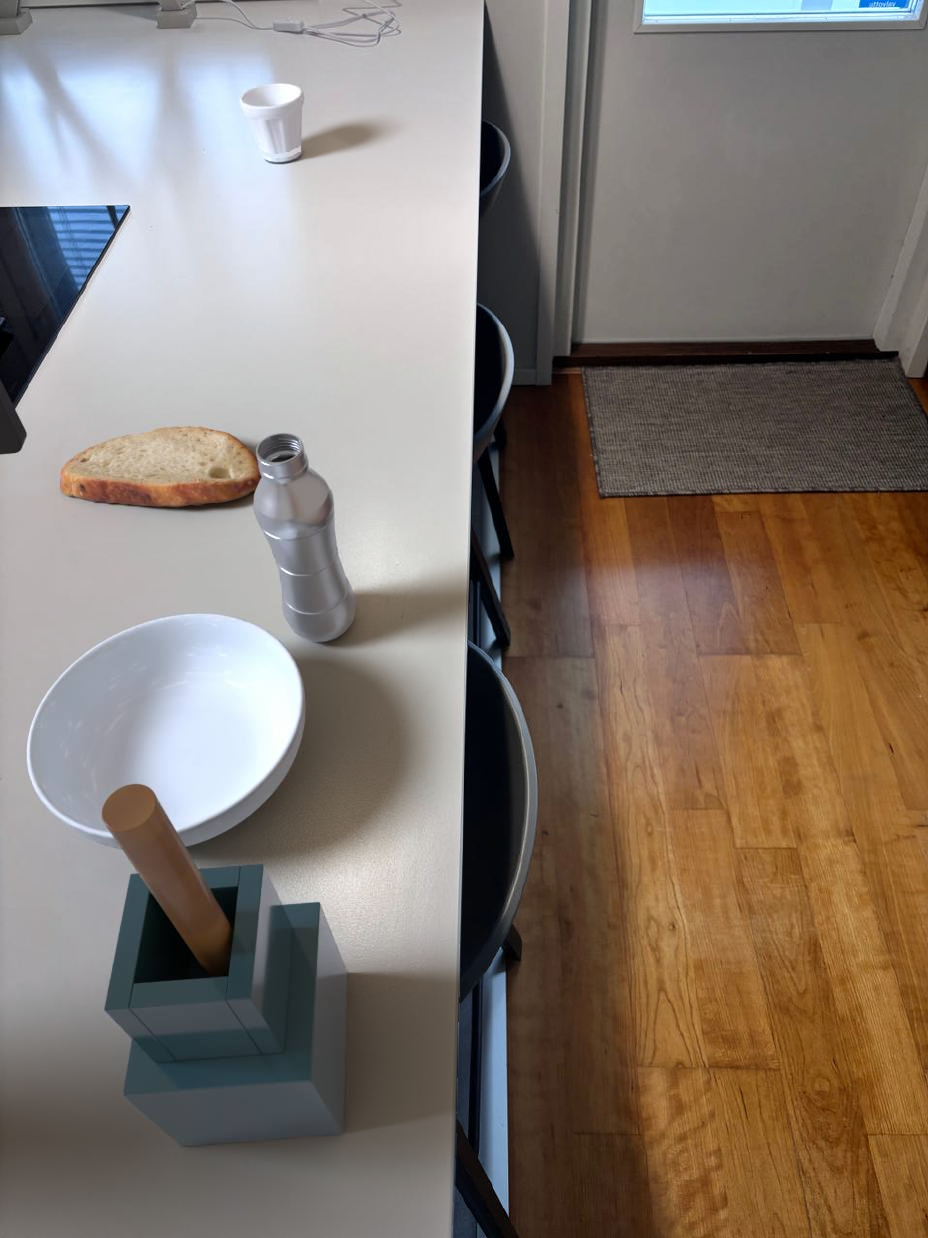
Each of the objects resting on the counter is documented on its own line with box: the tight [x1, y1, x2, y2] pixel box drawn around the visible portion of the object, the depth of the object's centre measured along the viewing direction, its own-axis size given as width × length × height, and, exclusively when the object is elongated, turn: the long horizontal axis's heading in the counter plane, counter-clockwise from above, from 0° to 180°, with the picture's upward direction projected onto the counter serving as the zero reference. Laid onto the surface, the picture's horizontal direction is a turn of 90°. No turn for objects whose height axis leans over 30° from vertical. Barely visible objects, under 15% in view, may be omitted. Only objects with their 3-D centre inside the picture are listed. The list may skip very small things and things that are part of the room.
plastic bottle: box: [252, 432, 357, 643], centre depth 78 cm, size 6×7×20 cm
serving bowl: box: [26, 612, 306, 850], centre depth 74 cm, size 21×21×7 cm
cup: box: [238, 82, 305, 165], centre depth 151 cm, size 10×10×9 cm
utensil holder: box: [103, 863, 349, 1147], centre depth 54 cm, size 10×10×19 cm
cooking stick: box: [102, 784, 234, 978], centre depth 46 cm, size 2×2×20 cm
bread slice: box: [59, 425, 262, 508], centre depth 99 cm, size 18×18×4 cm
